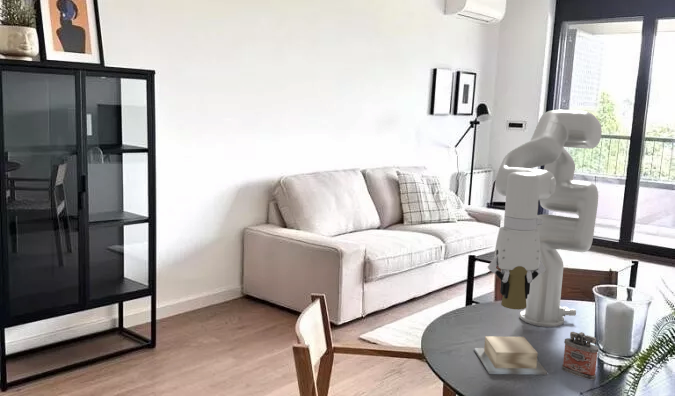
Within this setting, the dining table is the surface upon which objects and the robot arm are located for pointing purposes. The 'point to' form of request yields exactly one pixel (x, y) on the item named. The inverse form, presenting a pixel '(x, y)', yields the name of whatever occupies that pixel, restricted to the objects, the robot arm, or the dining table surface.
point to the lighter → (580, 355)
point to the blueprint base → (509, 356)
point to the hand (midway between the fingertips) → (514, 296)
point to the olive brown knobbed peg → (516, 289)
